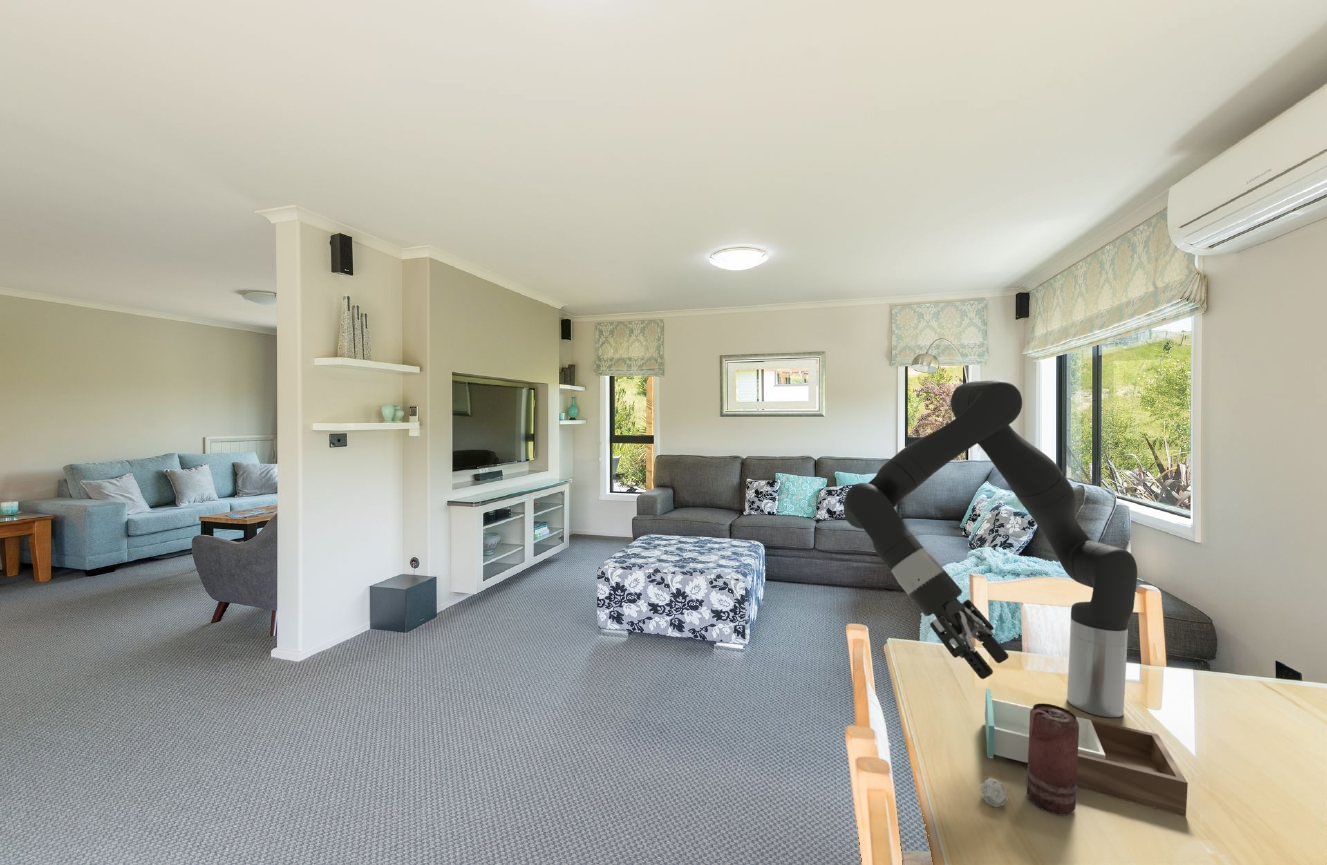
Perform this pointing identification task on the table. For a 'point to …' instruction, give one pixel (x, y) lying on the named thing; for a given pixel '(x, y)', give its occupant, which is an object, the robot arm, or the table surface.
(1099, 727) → the tray stand
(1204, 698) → the table surface
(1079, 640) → the robot arm
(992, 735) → the tray
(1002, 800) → the game die
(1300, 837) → the table surface
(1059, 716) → the can
